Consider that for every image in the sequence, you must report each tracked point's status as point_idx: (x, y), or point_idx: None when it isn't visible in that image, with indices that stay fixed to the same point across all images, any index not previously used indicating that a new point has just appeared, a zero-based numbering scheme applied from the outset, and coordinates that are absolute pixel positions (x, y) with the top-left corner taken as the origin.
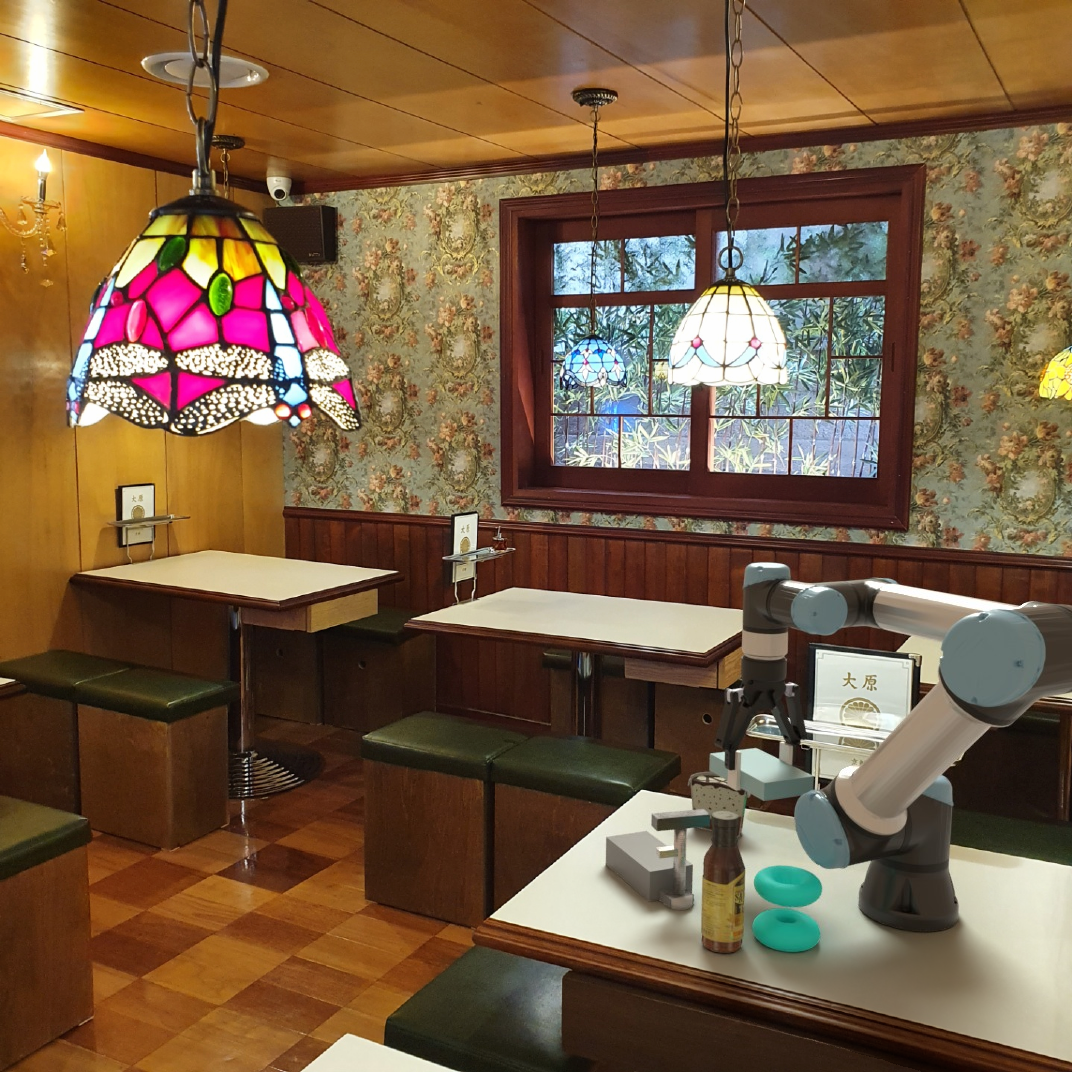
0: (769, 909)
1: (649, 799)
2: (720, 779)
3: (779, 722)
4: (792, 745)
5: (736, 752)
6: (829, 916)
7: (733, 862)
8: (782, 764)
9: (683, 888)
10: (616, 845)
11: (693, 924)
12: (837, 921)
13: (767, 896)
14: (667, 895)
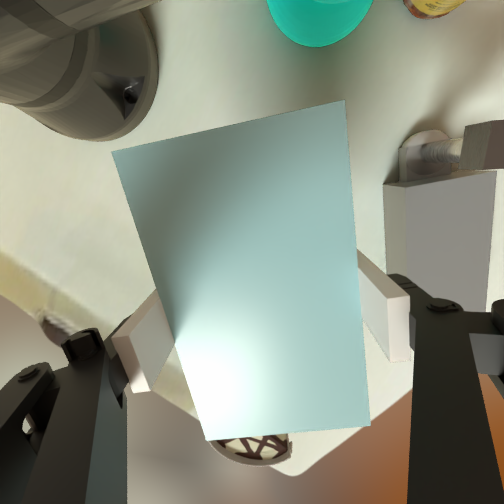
0: (335, 17)
1: (299, 462)
2: (239, 443)
3: (112, 470)
4: (109, 350)
5: (408, 303)
6: (213, 66)
7: None
8: (182, 296)
9: (434, 142)
10: (486, 289)
11: (434, 76)
12: (208, 44)
13: None
14: None
